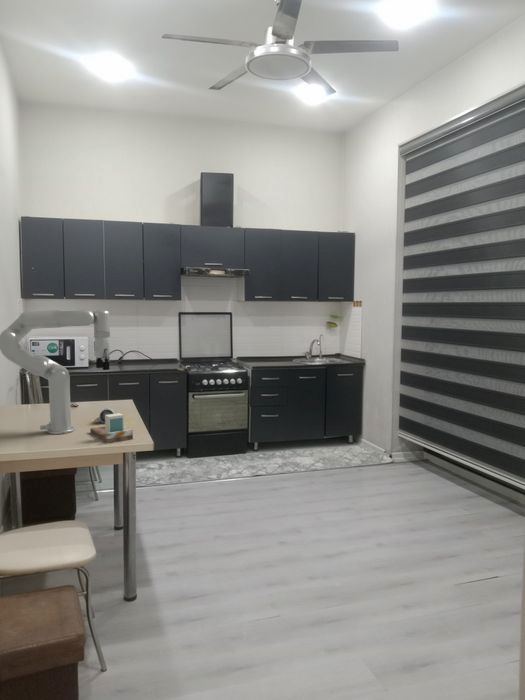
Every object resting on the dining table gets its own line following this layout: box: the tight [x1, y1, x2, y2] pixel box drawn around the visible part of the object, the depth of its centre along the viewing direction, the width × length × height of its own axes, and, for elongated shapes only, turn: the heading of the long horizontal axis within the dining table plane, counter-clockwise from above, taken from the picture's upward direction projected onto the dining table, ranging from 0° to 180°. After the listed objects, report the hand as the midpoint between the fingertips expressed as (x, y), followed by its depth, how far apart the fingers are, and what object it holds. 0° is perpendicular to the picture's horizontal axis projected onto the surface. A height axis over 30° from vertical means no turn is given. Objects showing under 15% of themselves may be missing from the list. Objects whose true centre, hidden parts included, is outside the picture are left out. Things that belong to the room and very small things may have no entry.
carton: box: [104, 412, 125, 434], centre depth 240 cm, size 5×7×9 cm
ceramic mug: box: [93, 407, 116, 424], centre depth 273 cm, size 11×8×8 cm
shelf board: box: [90, 426, 134, 444], centre depth 245 cm, size 12×24×4 cm, turn 36°
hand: (102, 368), depth 258 cm, fingers open, 9 cm apart
